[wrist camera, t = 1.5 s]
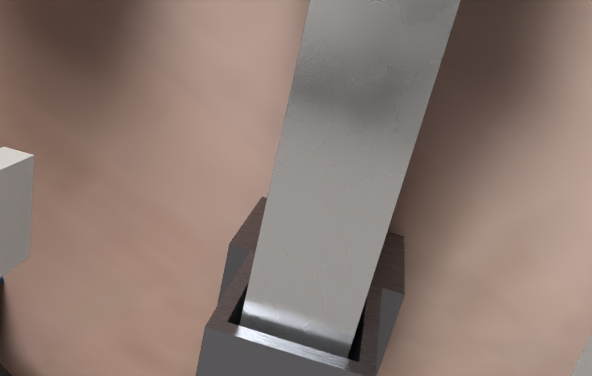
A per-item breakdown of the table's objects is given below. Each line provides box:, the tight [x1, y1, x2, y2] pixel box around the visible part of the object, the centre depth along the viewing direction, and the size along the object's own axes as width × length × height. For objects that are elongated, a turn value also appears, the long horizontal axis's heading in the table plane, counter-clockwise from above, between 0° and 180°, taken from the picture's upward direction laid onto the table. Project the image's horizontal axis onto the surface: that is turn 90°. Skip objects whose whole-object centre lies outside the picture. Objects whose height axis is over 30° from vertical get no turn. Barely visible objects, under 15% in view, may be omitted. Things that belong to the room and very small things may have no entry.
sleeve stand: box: [196, 197, 404, 376], centre depth 25 cm, size 8×8×12 cm
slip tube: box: [239, 0, 461, 359], centre depth 20 cm, size 4×22×4 cm, turn 167°
